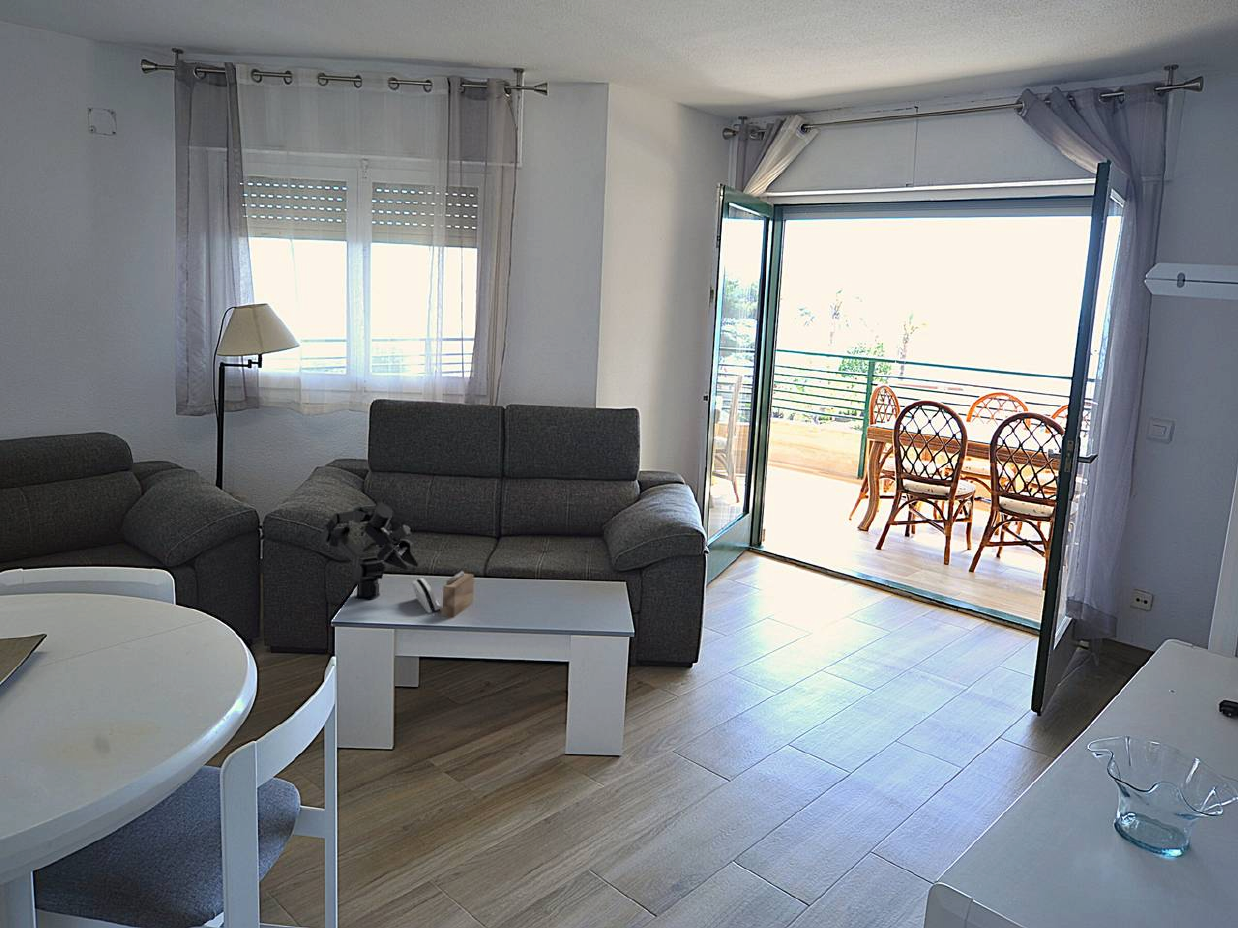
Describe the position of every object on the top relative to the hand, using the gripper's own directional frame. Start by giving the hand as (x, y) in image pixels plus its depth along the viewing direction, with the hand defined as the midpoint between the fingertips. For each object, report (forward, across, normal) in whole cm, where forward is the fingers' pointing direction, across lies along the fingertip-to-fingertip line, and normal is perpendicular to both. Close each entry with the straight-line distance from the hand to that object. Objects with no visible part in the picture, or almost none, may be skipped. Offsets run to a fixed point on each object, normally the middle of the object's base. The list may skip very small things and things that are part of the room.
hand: (412, 567), depth 312 cm
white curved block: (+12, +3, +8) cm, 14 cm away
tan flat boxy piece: (+20, +3, 0) cm, 21 cm away
